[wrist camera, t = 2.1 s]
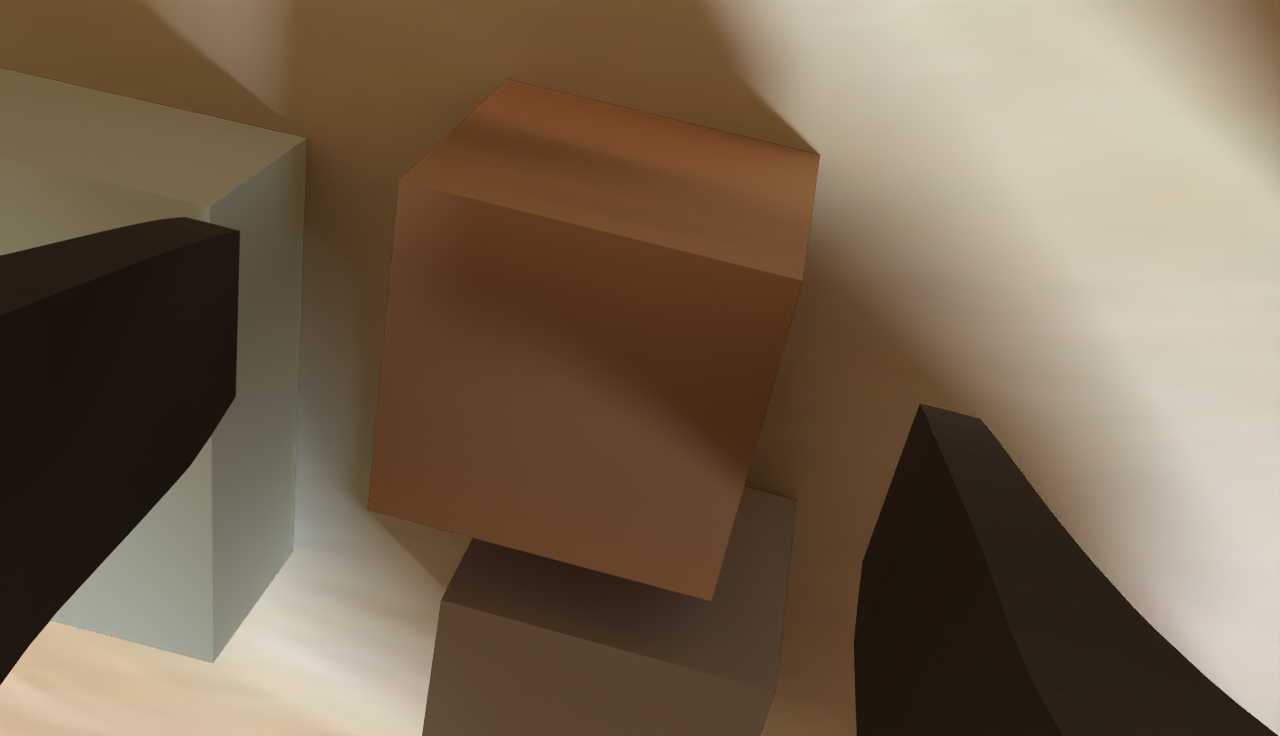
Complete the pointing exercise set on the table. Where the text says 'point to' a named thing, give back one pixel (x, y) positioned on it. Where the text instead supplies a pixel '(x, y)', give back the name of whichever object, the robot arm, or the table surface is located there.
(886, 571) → the robot arm
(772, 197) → the walnut cube
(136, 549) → the base block
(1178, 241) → the table surface
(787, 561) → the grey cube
